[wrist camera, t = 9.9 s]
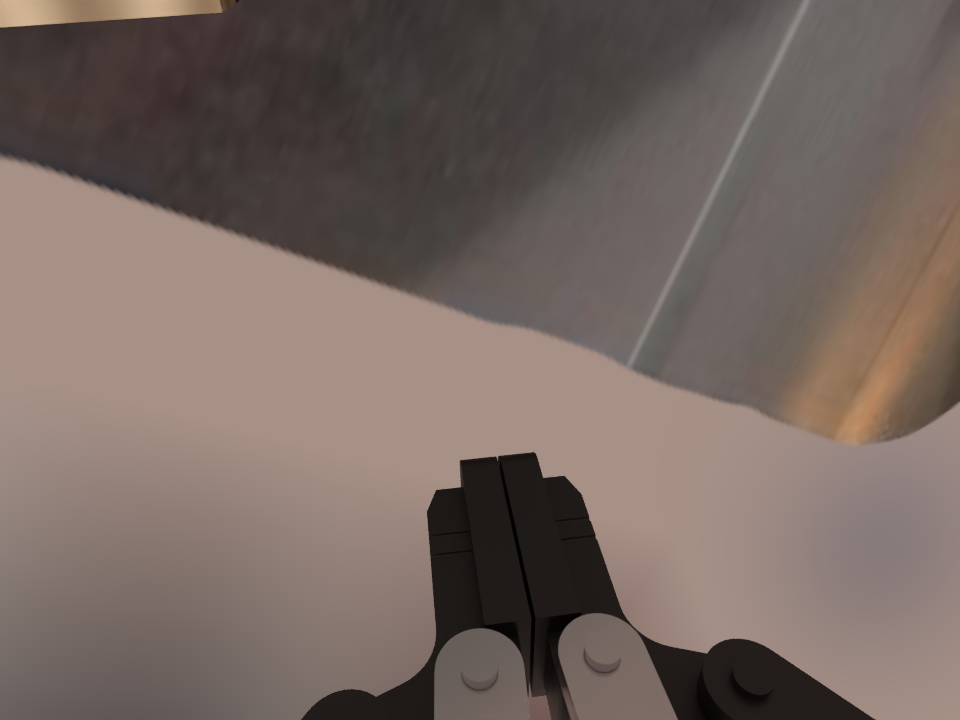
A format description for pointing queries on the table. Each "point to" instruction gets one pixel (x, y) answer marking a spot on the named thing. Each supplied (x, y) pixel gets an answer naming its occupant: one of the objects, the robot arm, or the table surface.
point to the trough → (100, 10)
